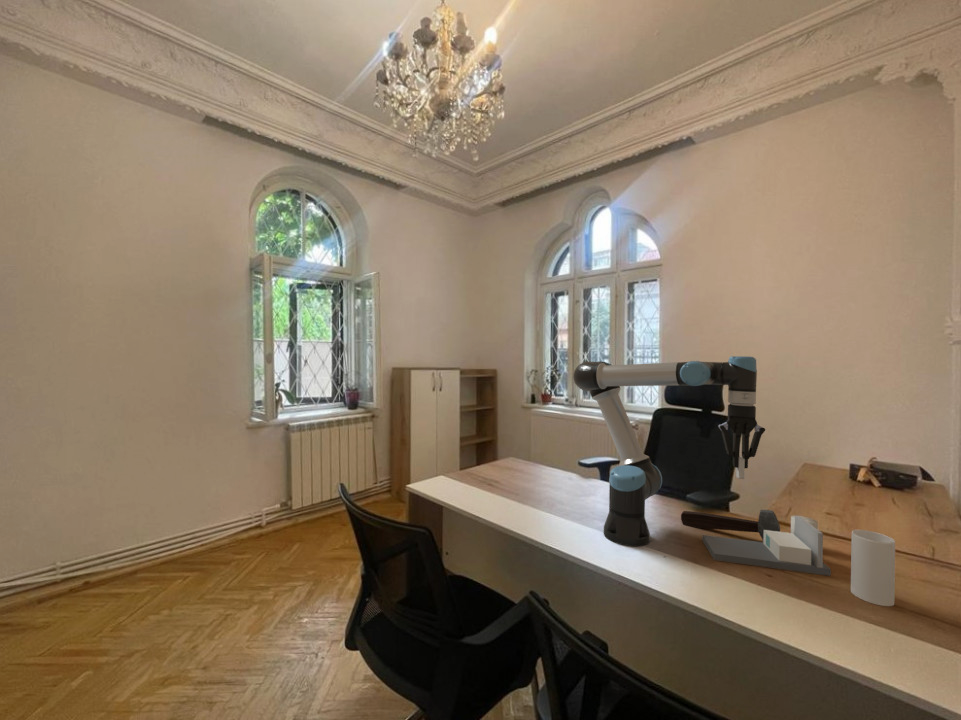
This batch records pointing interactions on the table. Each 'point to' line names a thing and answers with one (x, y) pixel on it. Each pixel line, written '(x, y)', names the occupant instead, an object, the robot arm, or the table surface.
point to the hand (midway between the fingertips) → (740, 477)
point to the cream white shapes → (811, 521)
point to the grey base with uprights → (764, 557)
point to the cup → (873, 567)
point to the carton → (787, 547)
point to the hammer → (732, 522)
